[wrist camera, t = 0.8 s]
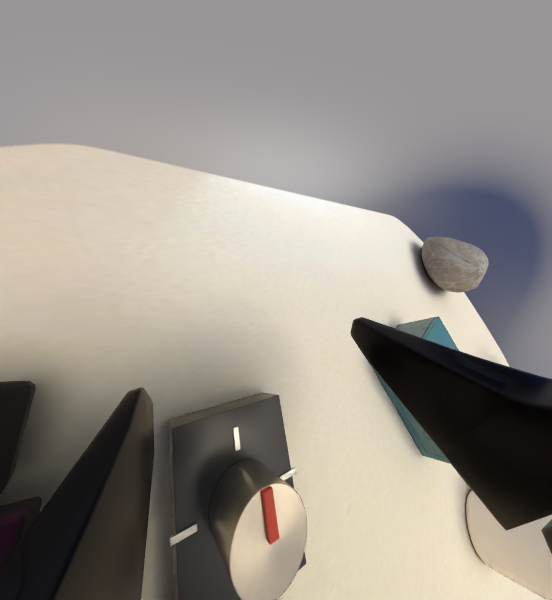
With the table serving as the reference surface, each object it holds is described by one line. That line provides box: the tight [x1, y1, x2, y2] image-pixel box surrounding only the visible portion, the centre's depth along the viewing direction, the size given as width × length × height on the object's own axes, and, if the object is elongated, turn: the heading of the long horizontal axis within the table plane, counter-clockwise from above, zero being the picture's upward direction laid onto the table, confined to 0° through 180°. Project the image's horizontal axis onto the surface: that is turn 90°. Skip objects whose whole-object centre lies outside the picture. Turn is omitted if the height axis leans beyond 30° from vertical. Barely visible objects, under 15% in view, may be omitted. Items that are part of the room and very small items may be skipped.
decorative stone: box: [422, 236, 488, 292], centre depth 45 cm, size 15×10×15 cm
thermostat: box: [169, 393, 306, 600], centre depth 15 cm, size 11×9×3 cm
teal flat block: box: [373, 318, 451, 464], centre depth 29 cm, size 12×15×5 cm
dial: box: [209, 459, 307, 600], centre depth 12 cm, size 4×4×4 cm
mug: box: [466, 490, 552, 600], centre depth 26 cm, size 12×8×10 cm
